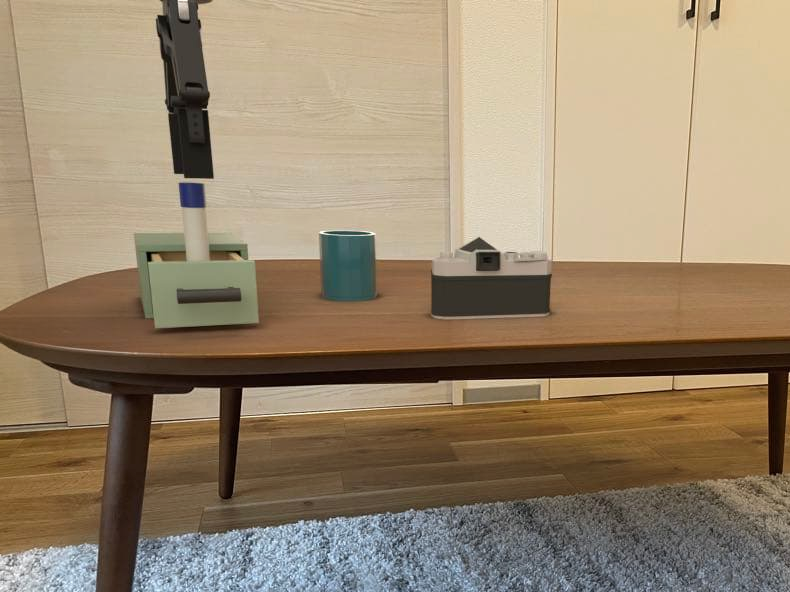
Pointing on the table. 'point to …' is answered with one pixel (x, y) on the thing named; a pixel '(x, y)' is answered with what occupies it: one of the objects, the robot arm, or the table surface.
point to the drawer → (202, 290)
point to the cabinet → (175, 243)
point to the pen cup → (348, 265)
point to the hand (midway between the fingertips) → (192, 176)
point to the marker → (194, 221)
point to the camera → (489, 283)
